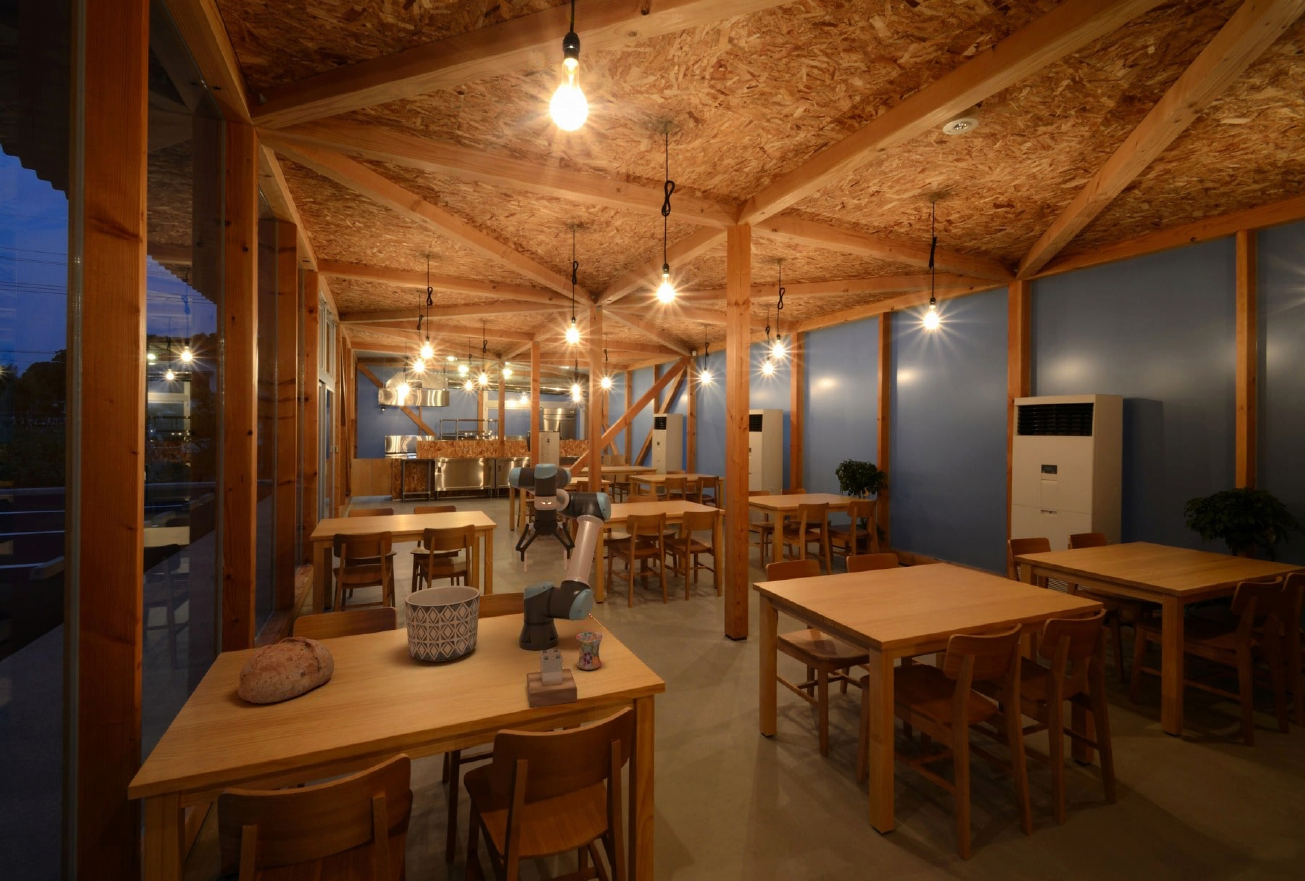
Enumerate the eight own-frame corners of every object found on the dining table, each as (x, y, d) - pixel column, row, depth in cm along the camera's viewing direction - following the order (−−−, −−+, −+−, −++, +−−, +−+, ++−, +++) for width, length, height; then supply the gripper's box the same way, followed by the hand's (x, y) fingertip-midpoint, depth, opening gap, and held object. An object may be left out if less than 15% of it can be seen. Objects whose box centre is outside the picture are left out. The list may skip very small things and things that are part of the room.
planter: (479, 638, 222) (479, 583, 222) (480, 663, 197) (480, 601, 197) (408, 645, 214) (408, 588, 214) (401, 672, 189) (401, 608, 189)
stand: (526, 686, 179) (526, 672, 179) (570, 680, 183) (570, 667, 183) (530, 707, 165) (530, 693, 165) (577, 701, 169) (577, 687, 169)
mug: (605, 670, 192) (605, 639, 192) (578, 673, 189) (578, 642, 189) (597, 657, 203) (597, 628, 203) (572, 660, 200) (572, 630, 200)
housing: (540, 675, 177) (540, 649, 177) (559, 673, 179) (559, 647, 179) (542, 686, 169) (542, 659, 169) (562, 684, 171) (562, 656, 171)
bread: (270, 713, 161) (270, 661, 161) (218, 699, 170) (218, 650, 170) (349, 676, 186) (349, 632, 186) (300, 666, 194) (300, 623, 194)
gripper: (508, 510, 184) (508, 574, 184) (583, 508, 191) (583, 569, 191) (507, 508, 191) (507, 569, 191) (579, 505, 198) (579, 564, 199)
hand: (545, 569), depth 191 cm, fingers open, 13 cm apart
